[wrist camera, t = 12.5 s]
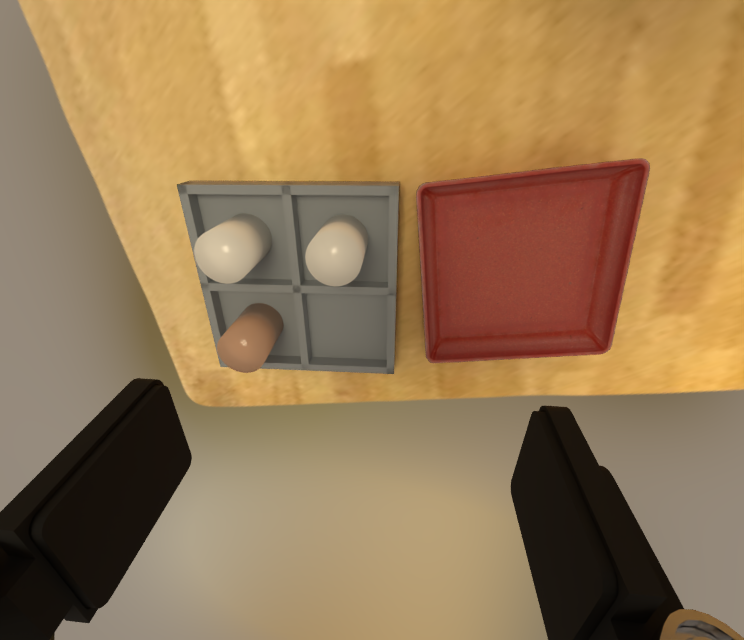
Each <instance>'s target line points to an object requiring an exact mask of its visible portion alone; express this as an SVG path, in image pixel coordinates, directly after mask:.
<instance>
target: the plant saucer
mask: <svg viewBox="0 0 744 640" xmlns="http://www.w3.org/2000/svg"><path fill="white" fill-rule="evenodd" d="M649 171H650V165H649V162H648V161H647V160H646V159H630V160H621V161H612V162H602V163H593V164H584V165H574V166H566V167H556V168H548V169H541V170H532V171H524V172H515V173H506V174H499V175H490V176H481V177H472V178H463V179H455V180H445V181H436V182H428V183H423V184H422V185H420V186H419V188H418V189H417V192H416V200H417V215H418V231H419V248H420V263H421V281H422V298H423V312H424V329H425V348H426V358H427V359H428V361H429V362H430V363H446V362H466V361H486V360H502V359H520V358H522V359H525V358H540V357H560V356H578V355H597V354H603V353H606V352H607V351H608V350H610V348H611V346H612V341H613V337H614V333H615V327H616V323H617V318H618V313H619V308H620V304H621V300H622V294H623V290H624V285H625V281H626V276H627V273H628V267H629V263H630V257H631V253H632V249H633V243H634V240H635V236H636V231H637V226H638V221H639V217H640V212H641V207H642V204H643V199H644V194H645V189H646V185H647V180H648V177H649Z"/></svg>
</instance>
